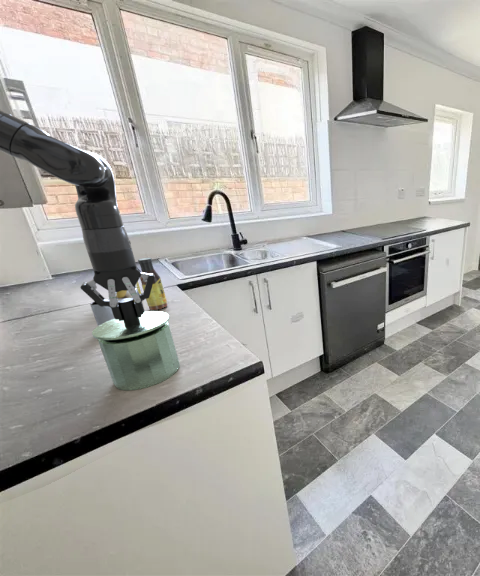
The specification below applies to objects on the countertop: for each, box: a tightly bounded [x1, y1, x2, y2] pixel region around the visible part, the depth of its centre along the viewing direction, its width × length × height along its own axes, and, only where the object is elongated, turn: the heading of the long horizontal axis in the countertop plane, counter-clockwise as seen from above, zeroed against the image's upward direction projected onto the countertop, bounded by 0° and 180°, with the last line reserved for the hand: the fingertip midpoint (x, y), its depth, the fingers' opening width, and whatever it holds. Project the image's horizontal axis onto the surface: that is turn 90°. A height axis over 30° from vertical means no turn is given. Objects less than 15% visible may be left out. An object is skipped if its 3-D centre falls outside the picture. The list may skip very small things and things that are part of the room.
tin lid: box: [91, 298, 170, 340], centre depth 74 cm, size 15×15×7 cm
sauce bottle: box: [137, 257, 168, 311], centre depth 119 cm, size 7×6×20 cm
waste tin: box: [97, 321, 181, 391], centre depth 78 cm, size 14×14×12 cm
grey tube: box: [89, 301, 115, 326], centre depth 102 cm, size 4×4×10 cm
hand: (131, 317), depth 74 cm, fingers closed on tin lid, 3 cm apart
